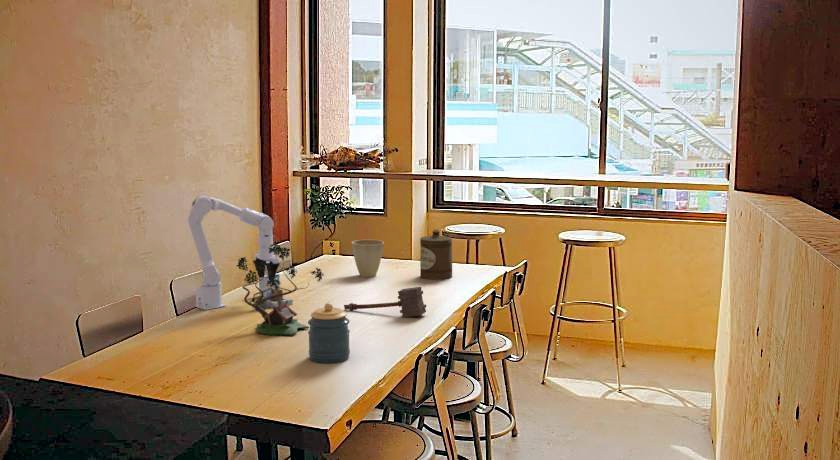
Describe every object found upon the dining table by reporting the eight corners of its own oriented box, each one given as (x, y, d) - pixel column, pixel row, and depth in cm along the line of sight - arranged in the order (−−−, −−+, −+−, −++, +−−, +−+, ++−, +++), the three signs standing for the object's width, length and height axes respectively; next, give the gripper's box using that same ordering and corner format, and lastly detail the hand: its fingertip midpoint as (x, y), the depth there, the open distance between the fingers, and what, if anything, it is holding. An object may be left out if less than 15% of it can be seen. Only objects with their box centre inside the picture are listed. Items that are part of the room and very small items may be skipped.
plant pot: (347, 277, 394) (346, 243, 391) (358, 271, 408) (358, 238, 405) (377, 279, 389) (377, 245, 387) (388, 273, 403) (388, 240, 401)
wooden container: (415, 275, 400) (415, 228, 397) (443, 272, 406) (443, 226, 403) (428, 281, 387) (428, 233, 384) (457, 278, 393) (458, 230, 390)
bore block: (273, 308, 335) (273, 303, 335) (260, 304, 342) (260, 299, 341) (292, 304, 341) (292, 299, 341) (279, 300, 348) (279, 296, 347)
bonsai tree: (221, 337, 293) (218, 246, 289) (259, 320, 316) (256, 236, 311) (312, 347, 281) (310, 252, 276) (344, 329, 304) (343, 241, 299)
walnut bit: (275, 306, 339) (275, 291, 338) (270, 304, 342) (270, 289, 341) (282, 304, 341) (282, 289, 340) (278, 303, 344) (277, 288, 343)
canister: (329, 349, 279) (328, 296, 276) (358, 356, 271) (357, 302, 268) (300, 358, 269) (298, 303, 266) (329, 366, 261) (328, 310, 258)
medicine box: (266, 297, 354) (265, 277, 353) (259, 296, 357) (258, 275, 355) (280, 294, 360) (279, 274, 359) (273, 292, 363) (272, 272, 362)
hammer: (421, 315, 318) (416, 289, 317) (343, 324, 330) (338, 299, 329) (427, 311, 324) (423, 285, 323) (351, 320, 336) (346, 296, 335)
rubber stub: (261, 310, 332) (261, 300, 331) (256, 308, 334) (256, 298, 334) (269, 308, 334) (268, 299, 334) (264, 307, 337) (264, 297, 336)
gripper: (284, 246, 339) (284, 280, 341) (264, 242, 349) (265, 274, 351) (269, 248, 334) (269, 282, 336) (249, 243, 345) (250, 276, 347)
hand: (266, 278), depth 343 cm, fingers open, 7 cm apart
